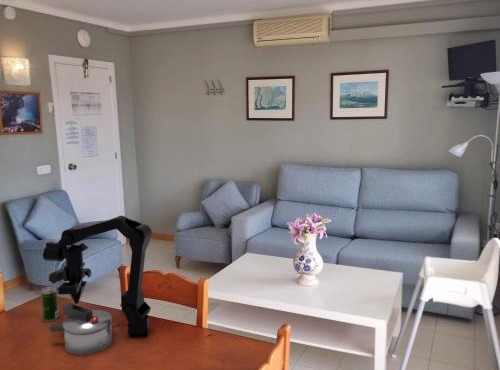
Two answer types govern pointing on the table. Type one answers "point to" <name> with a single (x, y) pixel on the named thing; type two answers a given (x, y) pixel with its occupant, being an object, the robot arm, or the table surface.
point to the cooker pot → (85, 340)
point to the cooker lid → (84, 320)
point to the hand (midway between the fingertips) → (76, 303)
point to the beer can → (49, 303)
